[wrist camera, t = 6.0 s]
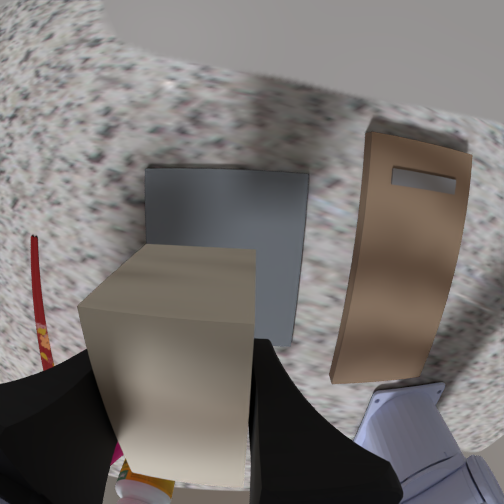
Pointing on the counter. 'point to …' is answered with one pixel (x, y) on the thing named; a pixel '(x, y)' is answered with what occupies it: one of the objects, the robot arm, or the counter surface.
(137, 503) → the supplement bottle
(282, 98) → the counter surface
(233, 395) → the cap
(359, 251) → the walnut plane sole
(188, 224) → the slate mat
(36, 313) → the chopstick
